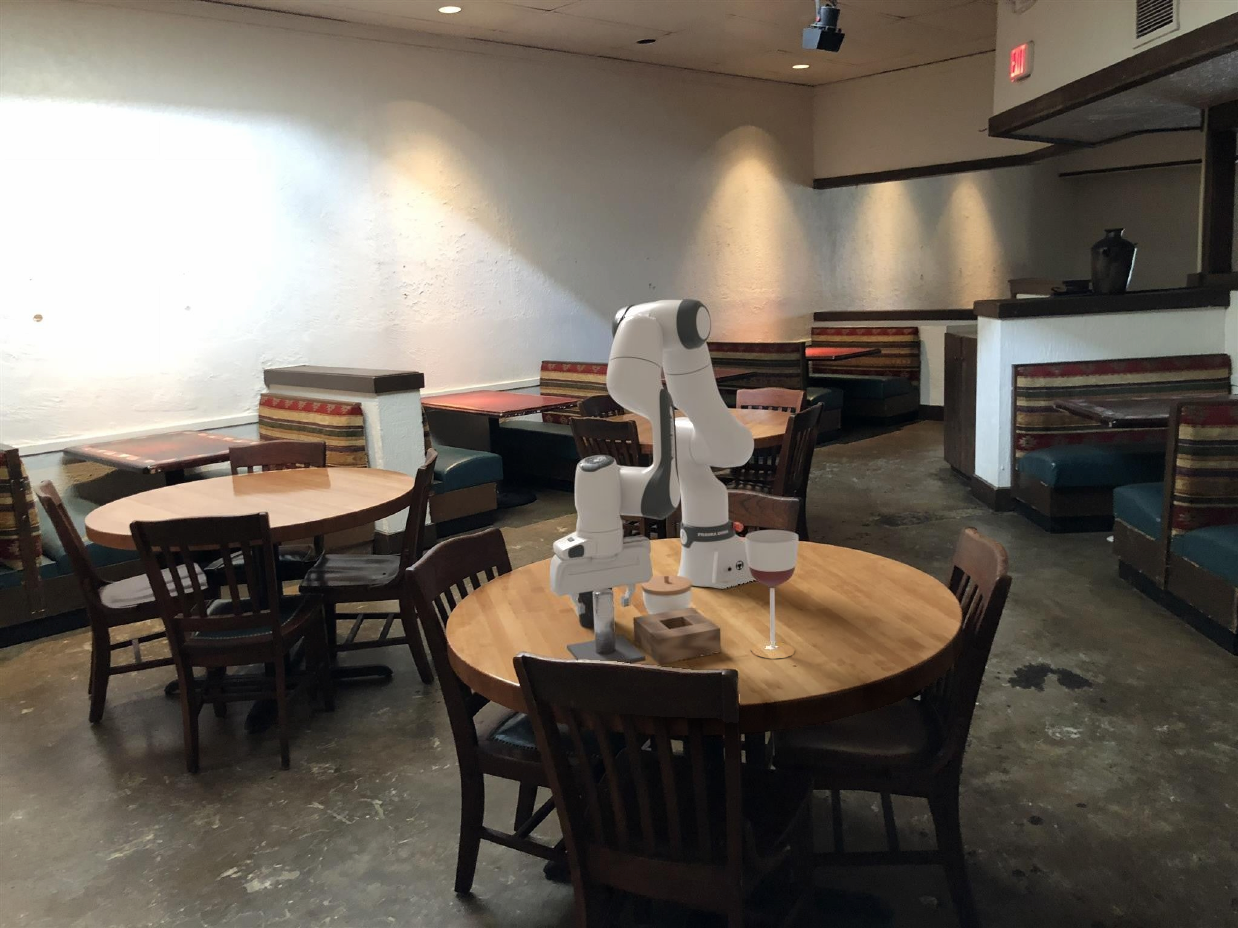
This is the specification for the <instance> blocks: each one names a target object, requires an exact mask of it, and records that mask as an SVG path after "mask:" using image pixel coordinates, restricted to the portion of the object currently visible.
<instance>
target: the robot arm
mask: <svg viewBox="0 0 1238 928" xmlns="http://www.w3.org/2000/svg"><path fill="white" fill-rule="evenodd" d="M711 322H712V321H711V315H710V313H709V309H708V308H707V306H705V305H704V303H703V302H702V301H700V300H697V299H691V298H683V300H682V299H661V300H656V301H651V302H645V303H640V304H631V305H630V304H629V305H627V306H624V307H621V308H620V309H619V310H618V311H617V312H616V313H615V315H614V317H613V319H612V322H611V333H612V334H611V335H612V339H613V342H612V344H611V349H610V354H609V358H608V364H607V370H606V388H607V391H608V394H609V395H610V397H611V398H612V399H613V400H614V401H615V402H616V403H617V404H618V405H620V406H621V407H622V408H624V409H626V410H628V411H630V412H632V413H634V414H636V415H639V416H641V417H642V418H645V419H647V420H648V421H649V422H650V424H651V428H652V429H651V430H652V456H653V460H652V464H651V465H650V466H647V467H646V466H645V467H644V466H643V467H642V466H626V465H619V464H617V461H616V459H615V458H614V457H612V456H611V455H606V454H605V455H604V454H597V455H591V456H588V457H585V458H583V459H581V460H580V461H579V462H578V463H577V465H576V469H575V477H574V506H575V509H576V512H577V521H576V525H575V527H576V528H575V529H576V530H575V531H574V532H572V533H569V534H568V535H565V536H564V537H561V538H560V539H557V540H555V541H554V542H553V543H552V544H553V545H552V548H553V551H554V553H555V554H554V555H553V556H552V558H551V561H550V565H549V566H550V567H549V588H550V591H552V593H554V594H555V596H557V597H562V596H568V597H569V599H570V600H571V601H572V603H573V604H574V608H575V614H576V615H577V616H579V615H580V614H585V605H584V604H583V603H579V602H578V599H577V598H579V593H582V592H589V591H595V590H601V589H607V588H612V589H613V588H616V587H617V588H619V587H624V586H625V587H626V591H625V593H624V595H620V606H622V607H623V608H626V607H630V606H632V603H631V602H632V601H631V598H632V597H633V595H634V594H635V591H636V588H637V586H636V585H637V584H642V583H644V582H649V581H650V580H651V578H652V577H654V576H653V573H654V572H653V566H652V560H651V551H652V546H651V545H652V543H651V541H650V539H649V538H648V537H647V536H644V535H641V534H640V535H635V536H625V537H623V536H624V533H623V530H624V529H623V521H622V518H621V516H632V517H633V516H635V517H644V518H648V519H649V518H650V519H653V520H654V519H655V520H664V519H666V518H668V517H669V516H670V515H672V514H673V513H674V512H675V511H676V510H677V509H678V508H679V504H680V502H681V521H680V533H679V534H680V535H679V536H680V543H681V555H680V561H679V568H678V572H677V574H676V576H681V577H685V578H687V579H689V580H690V581H691V583H692V586H694V587H695V586H696V587H703V588H704V587H709V588H714V589H722V590H723V589H728V588H732V587H735V586H739V585H738V584H740V585H743V583H744V584H747V582H748V583H750V582H749V581H752V582H754V581H753V580H755V581H757V580H756V579H755V578H753V576H752V575H751V572H750V569H749V564H748V559H747V553H746V542H745V539H743V538H742V537H741V536H739V535H737V534H736V532H737V533H738V532H740V533H741V532H742V531H743V530H744V525H743V524H742V523H740V522H738V521H733V520H731V519H729V493H728V492H729V491H728V489H727V487H726V485H725V484H724V483H723V482H722V481H721V480H719V479H718V478H717V477H716V476H715V474H714V473H713V471H712V469H711V467H716V468H723V469H724V468H733V467H734V468H735V467H742V466H744V465H745V464H746V463H747V462H748V461H749V460H750V459H751V457H752V455H753V454H754V453H753V452H754V448H755V441H754V440H755V439H754V435H753V433H752V432H751V429H750V428H749V427H748V426H747V425H745V424H744V423H742V422H741V421H740V420H739V419H737V417H736V416H734V414H733V413H732V412H731V410H730V409H729V407H728V406H727V405H726V403H725V401H724V400H723V398H722V396H721V394H720V391H719V389H718V384H717V381H716V377H715V373H714V369H713V365H712V364H713V363H712V358H711V355H710V351H709V347H708V344H707V341H708V339H709V337H710V333H711V331H712V323H711ZM662 370H663V374H664V379H665V384H666V387H667V390H666V389H664V388H665V387H663V386H664V385H663V382H662ZM675 408H676V409H677V410H679V411H680V412H682V413H683V414H684V415H685V416H680V417H676V413H675ZM680 500H681V501H680ZM731 586H732V587H731ZM727 587H728V588H727Z"/></svg>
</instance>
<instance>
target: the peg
mask: <svg viewBox="0 0 1238 928" xmlns="http://www.w3.org/2000/svg"><path fill="white" fill-rule="evenodd" d="M614 602H615V600H614V591H613V589H612V590H610V589H601V590H595V591H593V610H594V628H593V629H594V640H595V651H596V653H598V654H603V655H606V654H612V653H614V652H615V651H616V643H615V637H616V624H615V623H616V621H615V603H614Z"/></svg>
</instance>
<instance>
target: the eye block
mask: <svg viewBox="0 0 1238 928" xmlns="http://www.w3.org/2000/svg"><path fill="white" fill-rule="evenodd" d="M632 621H633V641H634V642H635V643H636V644H637V645H638V646H639V647H640V648H641V649H642V650H643V651H644V652H645V653H646V654H647V655H648V656H650V658H652V659H653V660H654V661H655V663H657V662H658V663H657V664H658V665H663V664H669V663H673V662H678V661H679V660H680V661H684V660H683V659H685V660H688V659H687V658H690V659H693V658H692V657H695V658H697V657H696V656H700V657H702V656H701V655H706V656H708V655H707V654H711V653H716V652H721V653H722V643H721V641H722V640H721V638H722V637H721V627H719V626H718V625H716V624H715V623H714V622H712V621H711V620H710V619H709V618H708V617H706V616H704V615H703V614H701V613H700V612H699V611H697V609H695V608H694V607H689V608H686V609H680V610H674V611H668V612H662V613H657V614H646V615H640V616H635V617H633V618H632ZM716 654H717V653H716ZM711 655H712V654H711ZM680 661H679V662H680Z"/></svg>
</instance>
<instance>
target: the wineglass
mask: <svg viewBox="0 0 1238 928" xmlns="http://www.w3.org/2000/svg"><path fill="white" fill-rule="evenodd" d="M744 537H745V539H744V540H745V542H746V553H747V559H748V564H749V569H750V572H751V575H752V576H753V578H755V579H756V580H755V581H756V582H758V583H760V584H762V585H765V586H766V587H768V588H769V613H770V615H769V617H770V618H769V620H770V621H769V624H770V625H769V626H770V627H769V629H770V630H769V633H770V634H769V635H770V641H769V642H771V645H770V646H766V648H765V649H770V650H771V649H777V647H778V646H775V642H776V621H775V620H776V614H775V613H776V608H775V607H776V606H775V605H776V602H775V601H776V599H775V598H776V597H775V594H776V593H775V588H776V587H777V586H780V585H782V584H784V583H786V582H788V581H789V580H790V579H791V578H792V577H793V575H794V573H795V570H796V569H795V568H796V564H797V559H798V553H799V552H798V551H799V534H797V533H795V532H793V531H790V530H783V529H765V530H763V529H762V530H756V531H752V532H751V531H750V532H749V533H746V535H745V536H744Z"/></svg>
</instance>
